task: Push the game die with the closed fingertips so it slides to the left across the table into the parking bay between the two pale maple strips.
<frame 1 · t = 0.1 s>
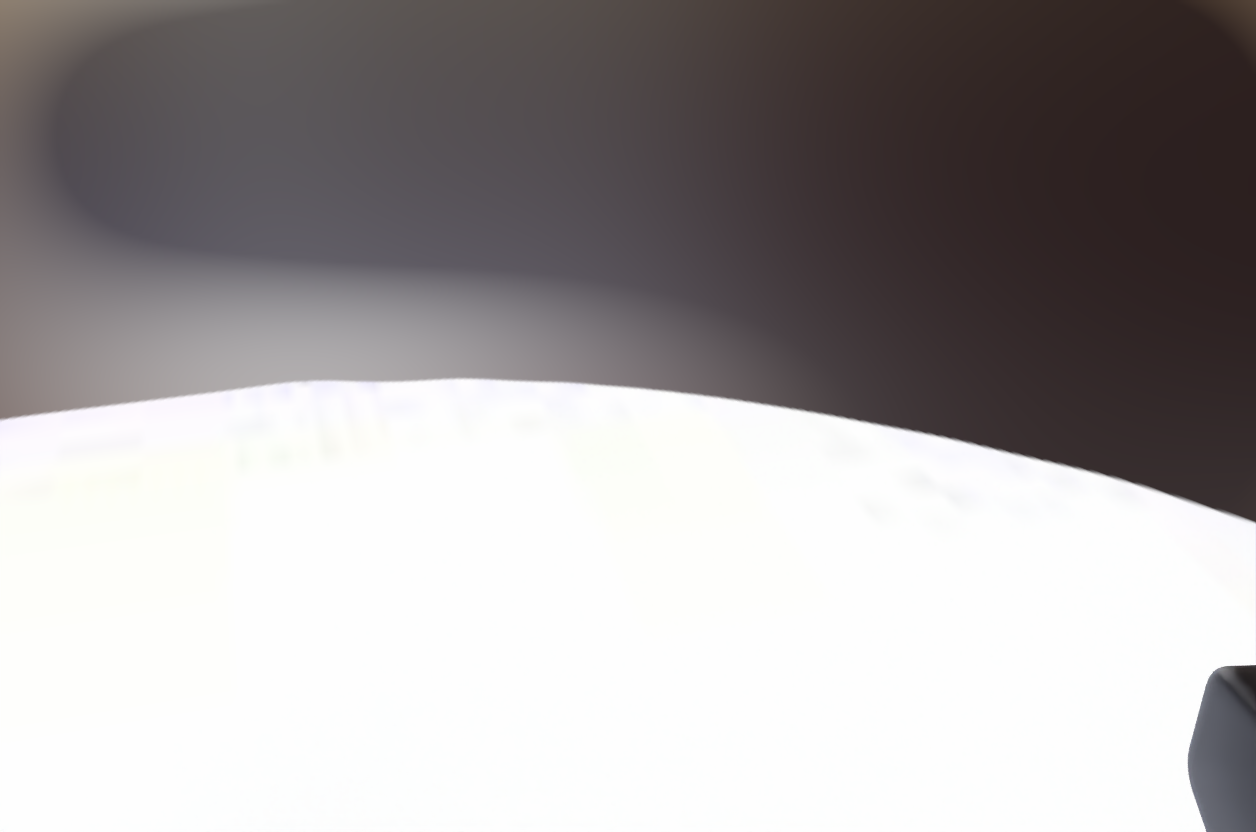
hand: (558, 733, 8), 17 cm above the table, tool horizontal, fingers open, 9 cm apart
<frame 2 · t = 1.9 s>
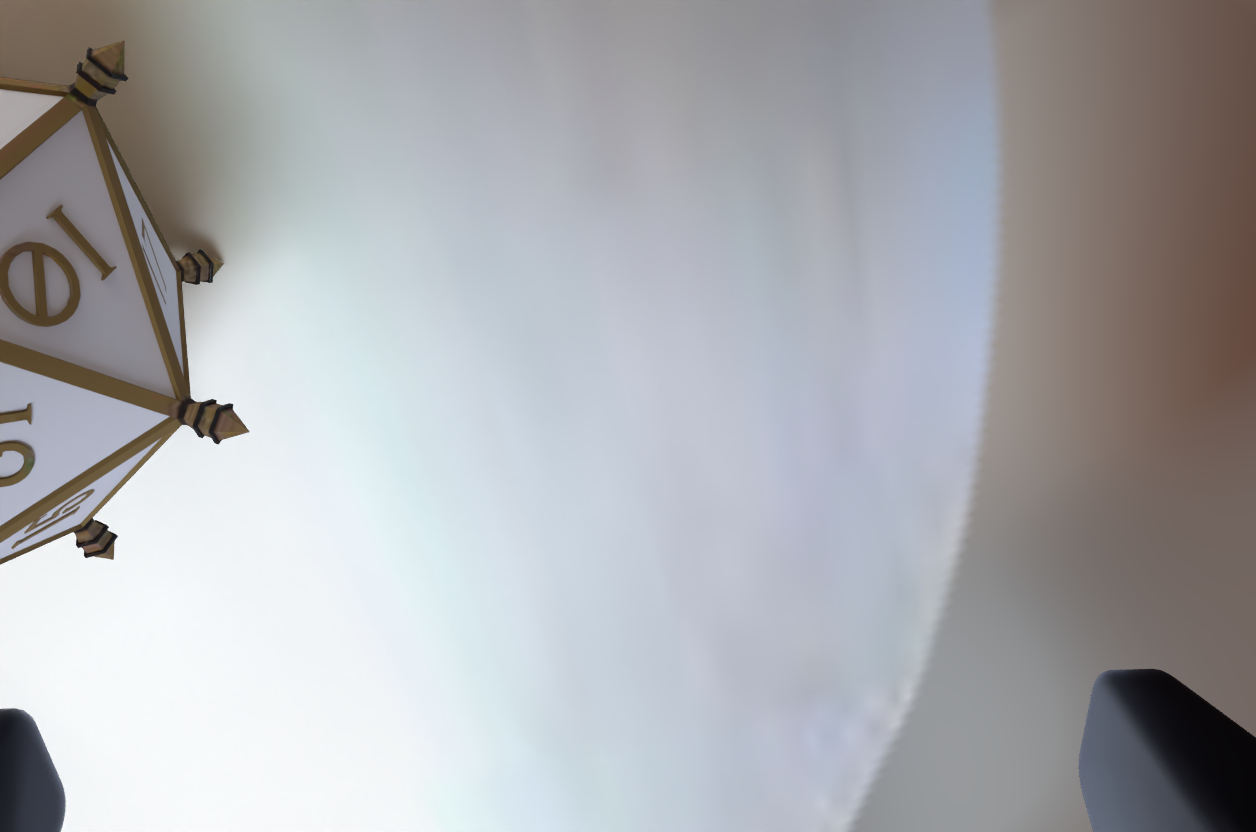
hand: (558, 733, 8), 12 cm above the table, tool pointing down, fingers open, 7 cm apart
game die: (46, 218, 19), on the table
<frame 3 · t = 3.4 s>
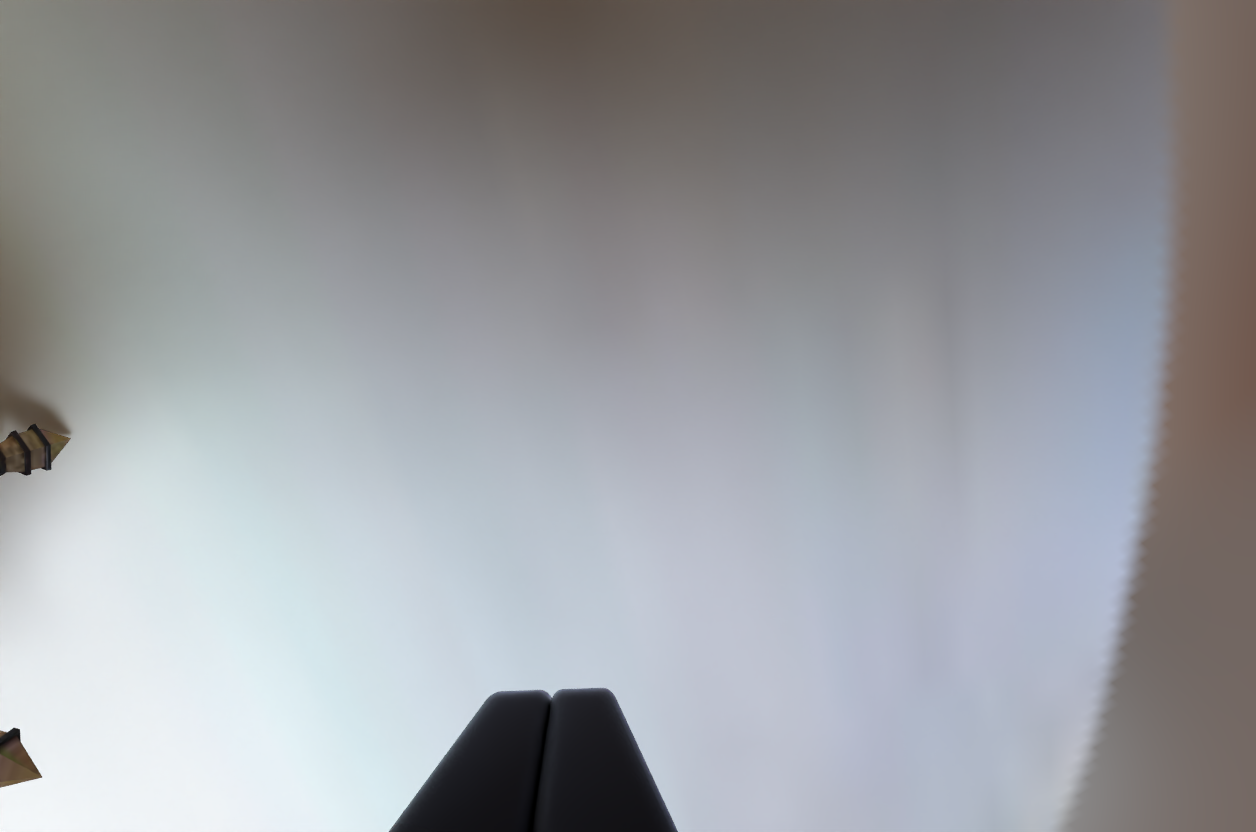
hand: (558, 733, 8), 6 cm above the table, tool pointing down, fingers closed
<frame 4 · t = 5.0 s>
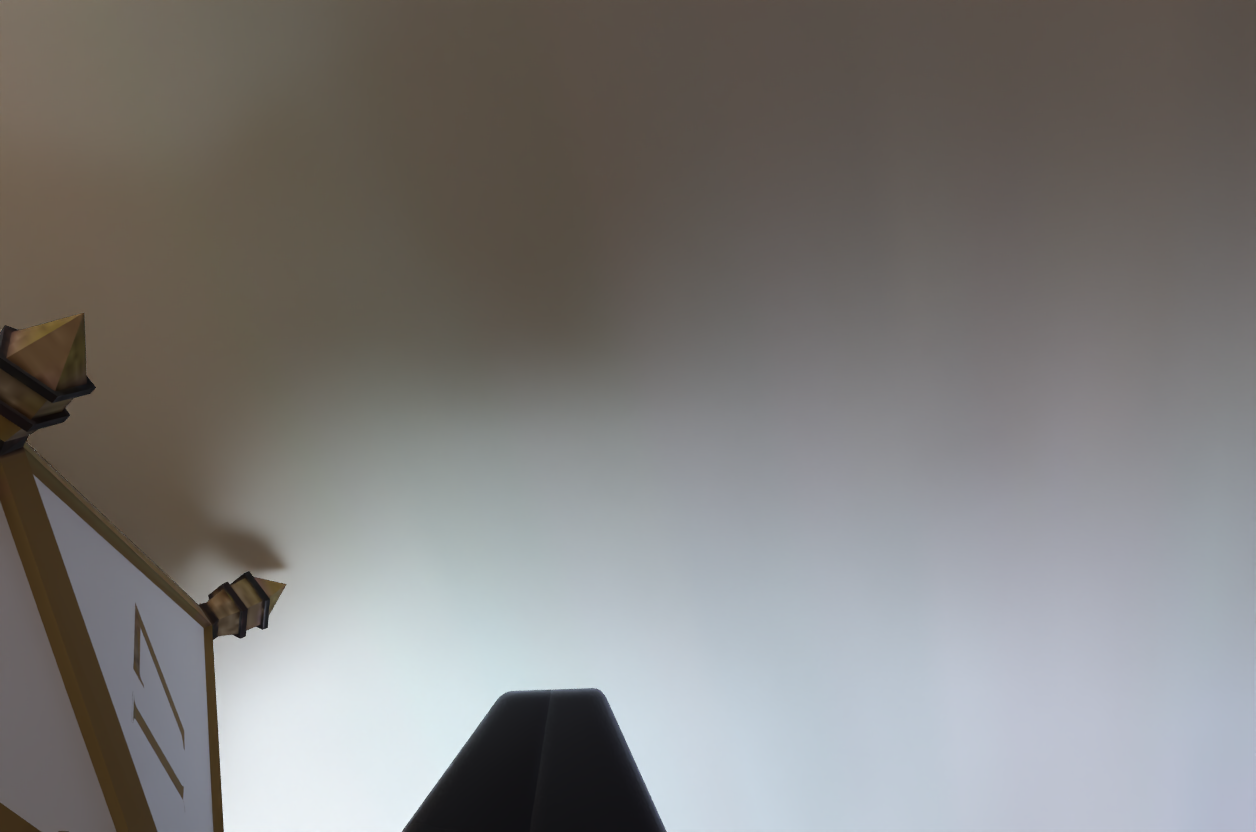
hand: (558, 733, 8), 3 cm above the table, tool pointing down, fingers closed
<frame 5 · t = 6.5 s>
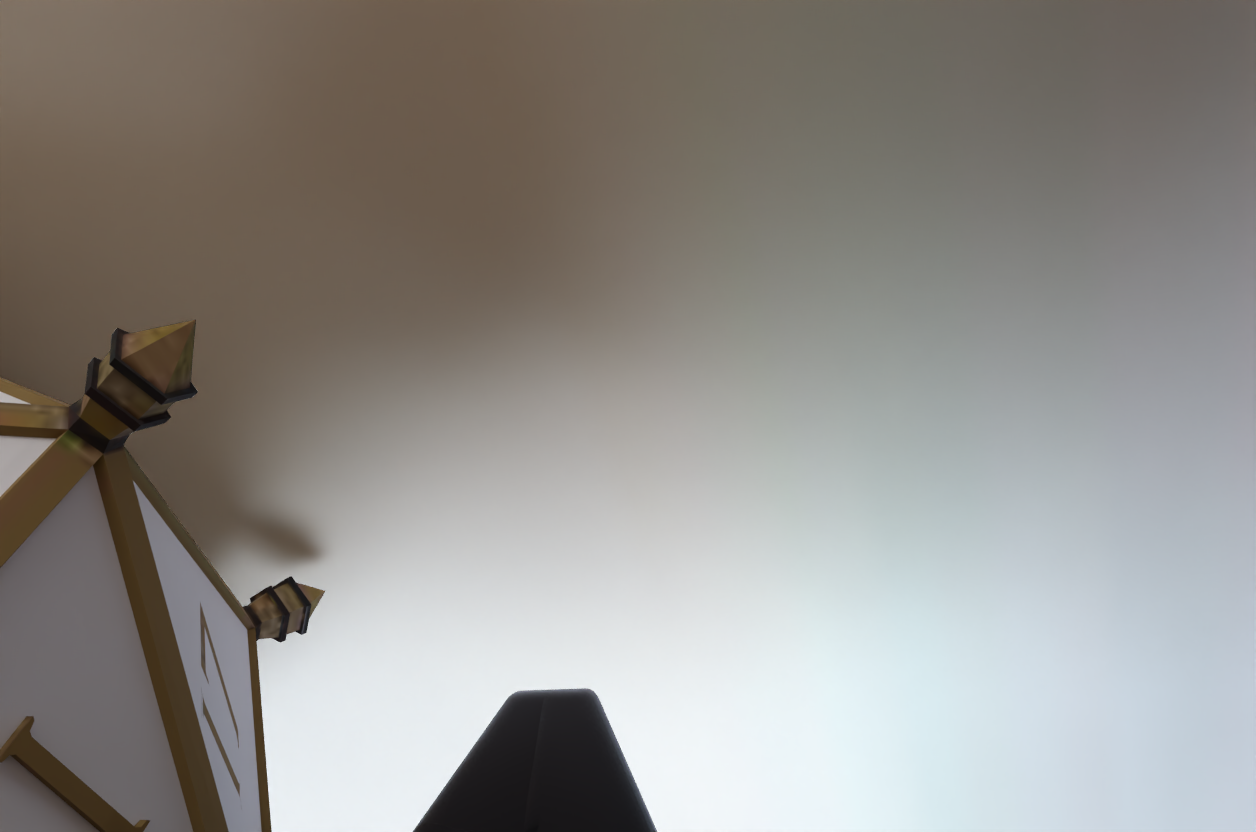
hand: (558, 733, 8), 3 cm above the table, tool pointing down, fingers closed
game die: (25, 504, 11), on the table, touching gripper
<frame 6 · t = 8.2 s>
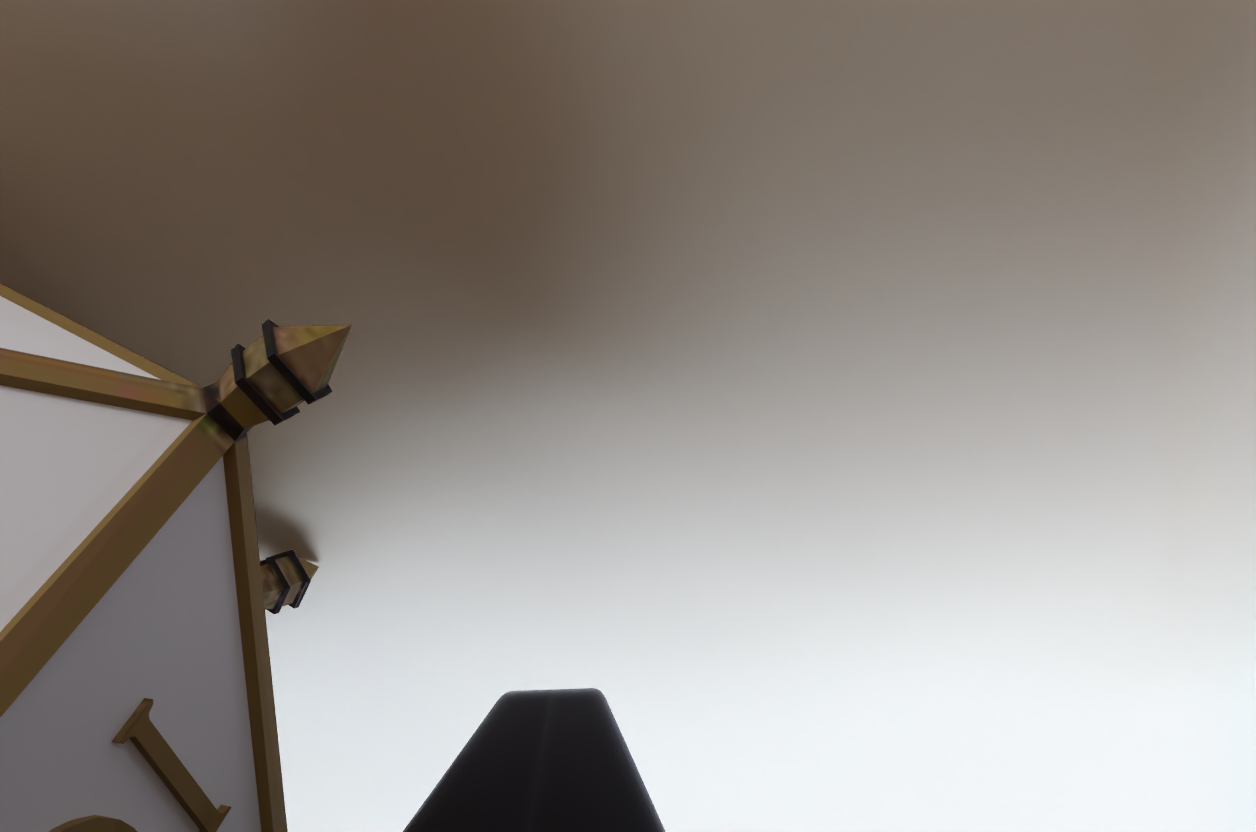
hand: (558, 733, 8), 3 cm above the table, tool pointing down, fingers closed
game die: (18, 437, 11), on the table, touching gripper
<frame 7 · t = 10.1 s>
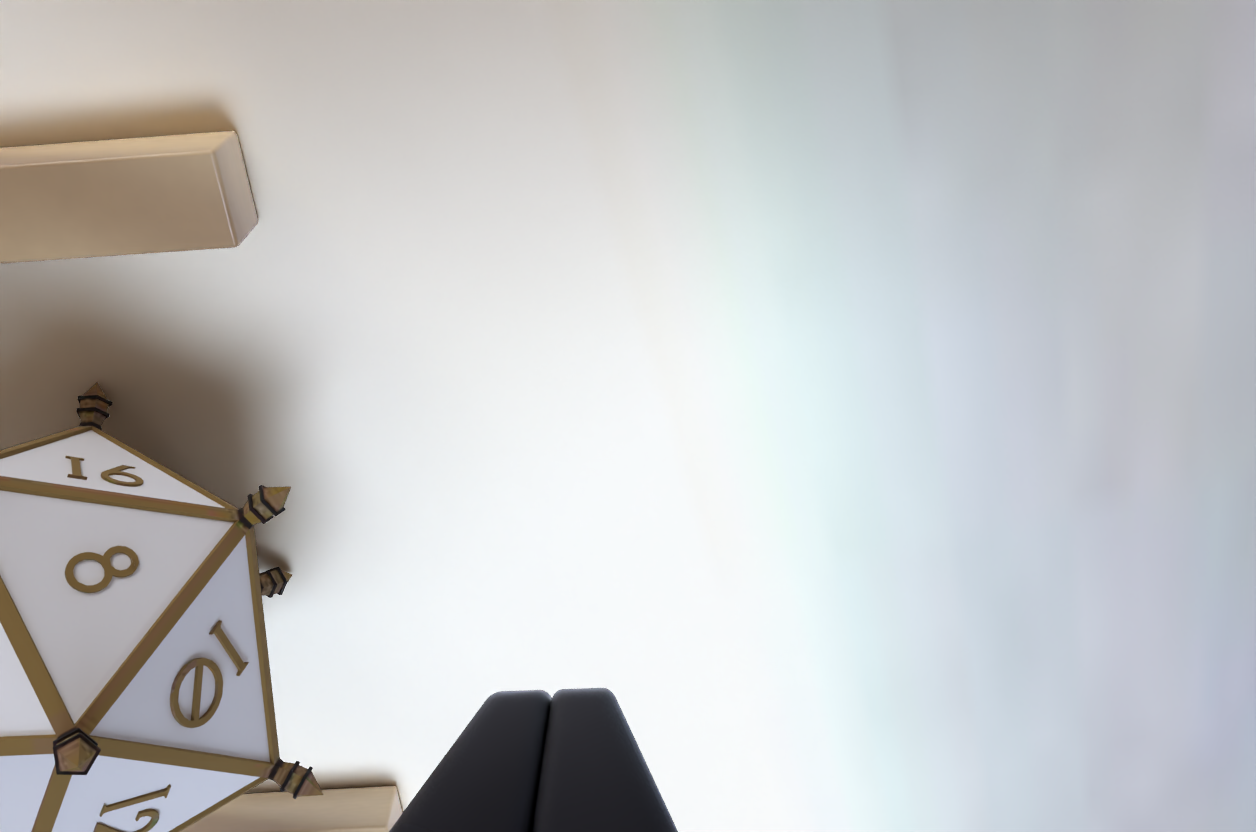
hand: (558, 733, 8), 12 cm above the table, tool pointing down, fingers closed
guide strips: (116, 558, 22), on the table
game die: (147, 513, 22), on the table
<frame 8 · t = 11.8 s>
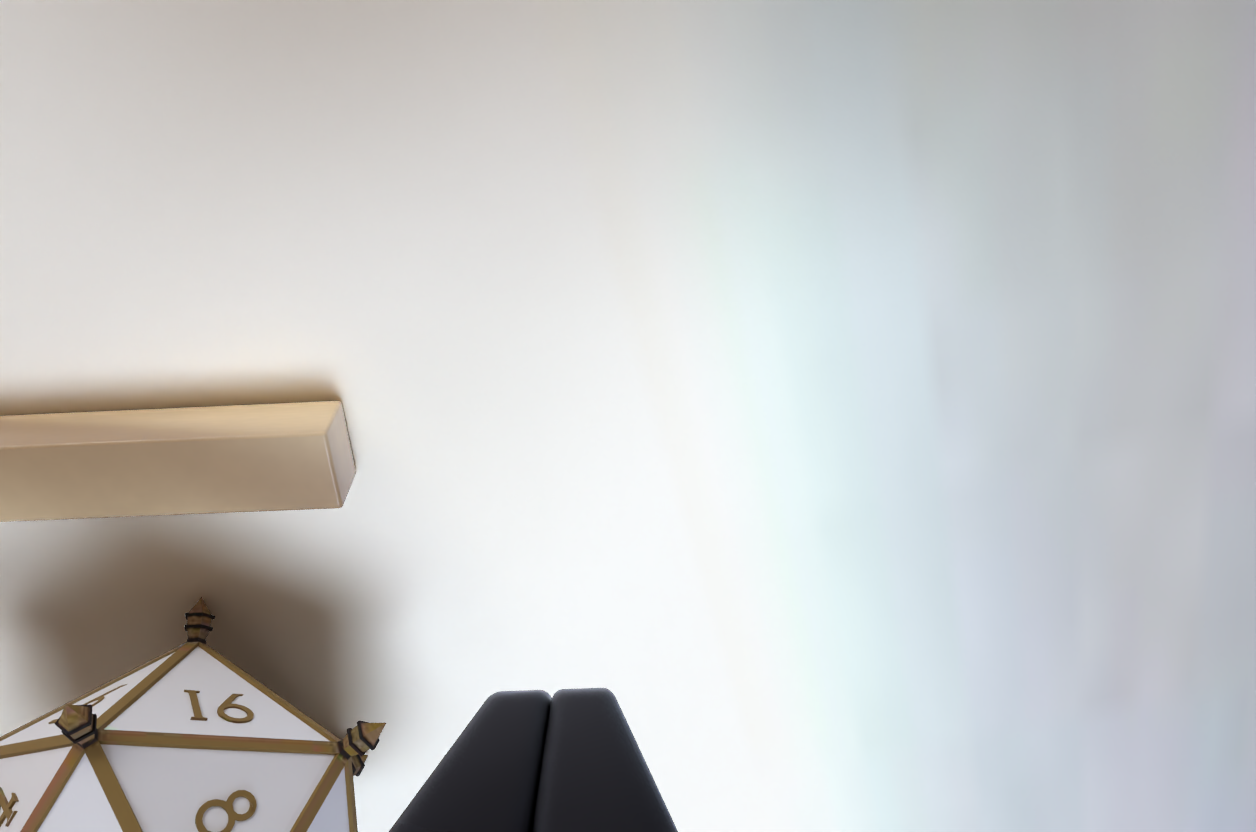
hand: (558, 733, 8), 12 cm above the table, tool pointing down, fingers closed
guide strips: (208, 738, 25), on the table
game die: (238, 701, 24), on the table
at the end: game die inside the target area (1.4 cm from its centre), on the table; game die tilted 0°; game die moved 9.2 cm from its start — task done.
